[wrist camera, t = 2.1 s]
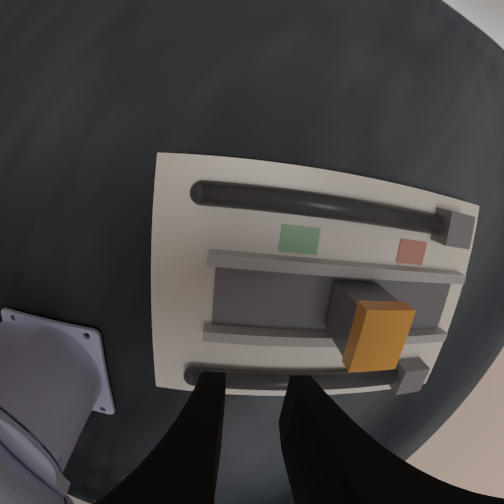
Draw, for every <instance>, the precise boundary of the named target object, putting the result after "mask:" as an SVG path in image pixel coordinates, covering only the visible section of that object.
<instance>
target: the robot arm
mask: <svg viewBox="0 0 504 504" xmlns="http://www.w3.org/2000/svg"><path fill="white" fill-rule="evenodd" d="M1 316H2V320H3V321H2V322H1V323H0V504H74V503H73V501H72V500H71V499H70V498H69V497H68V496H67V495H66V494H67V491H68V489H69V486H70V484H71V483H70V482H69V481H68V480H67V479H66V478H65V477H64V476H63V475H62V473H63V471H64V469H65V467H66V464H67V462H68V460H69V458H70V455H71V453H72V451H73V449H74V447H75V444H76V442H77V440H78V438H79V436H80V434H81V432H82V430H83V427H84V425H85V423H86V421H87V419H88V417H89V415H90V413H91V411H92V410H94V411H98V412H102V413H106V414H111V415H112V414H114V412H115V406H114V402H113V397H112V393H111V388H110V383H109V378H108V373H107V368H106V362H105V357H104V351H103V344H102V337H101V334H100V332H99V331H98V330H97V329H94V328H89V327H84V326H79V325H75V324H70V323H65V322H61V321H56V320H52V319H48V318H43V317H39V316H35V315H31V314H27V313H24V312H20V311H16V310H12V309H9V308H3V309H2V310H1ZM86 333H88V334H89V336H90V337H89V336H87V335H86ZM225 392H226V373H223V372H211V371H203V372H202V373H200V375H199V378H198V381H197V383H196V386H195V388H194V390H193V392H192V394H191V396H190V397H189V399H188V401H187V403H186V404H185V406H184V408H183V409H182V411H181V412H180V414H179V415H178V417H177V419H176V420H175V422H174V423H173V424H172V426H171V427H170V428H169V430H168V431H167V432H166V434H165V435H164V436H163V438H162V439H161V440H160V442H159V443H158V444H157V445H156V447H155V448H154V449H153V450H152V451H151V452H150V454H149V455H148V456H147V457H146V458H145V459H144V460H143V461H142V462H141V463H140V464H139V465H138V466H137V467H136V468H135V469H134V470H133V471H132V472H131V473H130V474H129V475H128V476H127V477H126V478H125V479H124V480H123V481H122V482H120V483H119V484H118V485H117V486H116V487H115V488H114V489H112V490H111V491H110V492H109V493H107V494H106V495H105V496H104V497H102V498H101V499H99V500H98V501H96V502H95V503H94V504H214V497H215V489H216V482H217V474H218V467H219V459H220V452H221V441H222V428H223V416H224V404H225ZM279 430H280V440H281V449H282V453H283V458H284V462H285V466H286V470H287V474H288V478H289V482H290V486H291V490H292V494H293V498H294V502H295V504H504V499H503V498H497V497H492V496H487V495H482V494H478V493H474V492H471V491H468V490H465V489H462V488H459V487H456V486H453V485H450V484H448V483H446V482H443V481H441V480H438V479H436V478H434V477H432V476H430V475H428V474H426V473H425V472H422V471H420V470H419V469H417V468H415V467H413V466H412V465H410V464H408V463H407V462H405V461H404V460H402V459H401V458H399V457H398V456H396V455H395V454H393V453H392V452H390V451H389V450H387V449H386V448H385V447H383V446H382V445H381V444H380V443H378V442H377V441H376V440H375V439H373V438H372V437H371V436H370V435H369V434H367V433H366V432H365V431H364V430H363V429H362V428H361V427H360V426H358V425H357V424H356V423H355V422H354V421H353V420H352V419H351V418H350V417H349V416H348V415H347V414H346V413H345V412H344V411H343V410H342V409H341V408H340V407H339V406H338V405H337V404H336V403H335V402H334V401H333V400H332V399H331V398H330V396H329V395H328V394H327V393H326V392H325V391H324V390H323V389H322V388H321V387H320V386H319V384H318V383H317V382H316V381H315V380H314V379H313V378H312V377H311V376H310V375H290V377H289V382H288V386H287V390H286V394H285V398H284V402H283V406H282V410H281V414H280V418H279Z"/></svg>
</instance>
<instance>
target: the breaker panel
mask: <svg viewBox="0 0 504 504" xmlns="http://www.w3.org/2000/svg"><path fill="white" fill-rule="evenodd" d="M478 212H479V206H478V205H475V204H471V203H468V202H465V201H461V200H458V199H454V198H451V197H447V196H444V195H440V194H436V193H432V192H429V191H425V190H421V189H417V188H413V187H409V186H404V185H400V184H396V183H391V182H387V181H382V180H377V179H373V178H368V177H363V176H358V175H352V174H347V173H342V172H336V171H330V170H324V169H318V168H312V167H306V166H299V165H292V164H285V163H277V162H269V161H261V160H252V159H242V158H232V157H221V156H209V155H195V154H178V153H157V161H156V172H155V184H154V198H153V215H152V240H151V312H152V337H153V354H154V368H155V379H156V386H157V387H164V388H171V389H179V390H188V391H193V390H194V388H195V386H196V383H197V381H198V378H199V375H200V373H202V372H203V371H211V372H223V373H226V392H225V394H236V395H261V396H285V394H286V390H287V386H288V382H289V377H290V375H310V376H311V377H312V378H313V379H314V380H315V381H316V382H317V383H318V384H319V386H320V387H321V388H322V389H323V390H324V391H325V392H326V393H327V394H328V395H331V394H346V393H358V392H369V391H378V390H386V389H392V390H393V392H394V393H395V395H399V394H405V393H411V392H417V391H420V389H421V387H422V385H423V384H425V383H426V381H427V379H428V377H429V375H430V373H431V370H432V368H433V366H434V364H435V361H436V359H437V357H438V354H439V352H440V349H441V347H442V344H443V342H444V341H445V339H446V337H447V334H448V333H447V331H448V329H449V326H450V323H451V320H452V317H453V314H454V311H455V308H456V305H457V302H458V299H459V296H460V292H461V289H462V285H463V284H464V282H465V278H466V271H467V267H468V263H469V259H470V254H471V250H472V245H473V240H474V235H475V230H476V224H477V219H478ZM335 280H347V281H363V282H377V283H378V284H379V285H380V286H381V287H383V288H384V289H385V290H386V291H388V292H389V293H390V294H391V295H392V296H394V297H395V298H396V299H397V300H398V301H401V302H406V303H408V304H409V305H410V306H411V307H412V308H414V309H415V310H416V312H415V315H414V318H413V321H412V324H411V327H410V330H409V333H408V336H407V339H406V342H405V344H404V347H403V350H402V353H401V355H400V358H399V360H398V363H397V365H396V368H395V369H391V370H380V371H367V372H351V373H348V371H347V369H346V367H345V366H344V364H343V362H342V358H343V357H342V355H341V353H340V351H339V350H338V348H337V346H336V345H335V343H334V341H333V339H332V338H331V336H330V334H329V332H328V331H327V329H326V327H325V323H326V319H327V314H328V310H329V305H330V301H331V296H332V291H333V286H334V282H335Z"/></svg>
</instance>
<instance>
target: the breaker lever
mask: <svg viewBox="0 0 504 504" xmlns="http://www.w3.org/2000/svg"><path fill="white" fill-rule="evenodd" d="M415 312H416V310H415V309H414V308H412V307H411V306H410V305H409V304H408V303H406V302H401V301H398V300H397V299H396V298H395V297H394V296H392V295H391V294H390V293H389V292H388V291H386V290H385V289H384V288H383V287H381V286H380V285H379V284H378V283H377V282H363V281H347V280H335V282H334V286H333V291H332V296H331V301H330V305H329V310H328V314H327V319H326V323H325V327H326V329H327V331H328V332H329V334H330V336H331V338H332V339H333V341H334V343H335V345H336V346H337V348H338V350H339V351H340V353H341V355H342V357H343V358H342V362H343V364H344V366H345V367H346V369H347V371H348V373H351V372H367V371H380V370H391V369H395V368H396V365H397V363H398V360H399V358H400V355H401V353H402V350H403V347H404V344H405V342H406V339H407V336H408V333H409V330H410V327H411V324H412V321H413V318H414V315H415Z"/></svg>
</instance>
